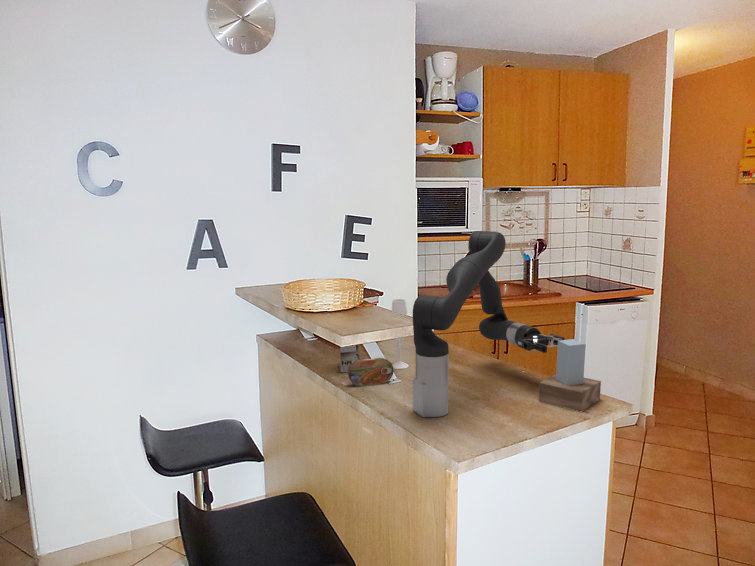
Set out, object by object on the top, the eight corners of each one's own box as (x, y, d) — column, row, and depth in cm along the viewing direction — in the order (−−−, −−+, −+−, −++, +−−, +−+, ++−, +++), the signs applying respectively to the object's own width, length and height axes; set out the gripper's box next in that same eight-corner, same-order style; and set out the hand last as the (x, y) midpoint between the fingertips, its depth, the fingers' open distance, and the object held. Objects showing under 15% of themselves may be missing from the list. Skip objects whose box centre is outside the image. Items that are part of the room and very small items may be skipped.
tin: (349, 387, 183) (348, 362, 182) (347, 384, 186) (346, 359, 185) (394, 382, 187) (393, 358, 186) (391, 380, 190) (390, 355, 189)
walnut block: (581, 413, 160) (582, 392, 159) (538, 402, 169) (539, 382, 168) (599, 400, 170) (600, 381, 169) (558, 390, 179) (559, 372, 178)
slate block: (567, 385, 165) (569, 345, 163) (555, 379, 170) (557, 340, 168) (583, 383, 167) (585, 344, 165) (571, 377, 172) (573, 339, 170)
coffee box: (358, 372, 198) (357, 327, 196) (340, 372, 198) (339, 327, 196) (360, 364, 207) (359, 321, 205) (342, 364, 207) (341, 321, 205)
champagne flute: (412, 365, 205) (412, 300, 202) (400, 369, 201) (399, 302, 197) (398, 362, 210) (398, 297, 206) (386, 366, 205) (385, 300, 201)
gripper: (505, 327, 184) (538, 338, 169) (541, 322, 189) (576, 333, 175) (505, 349, 185) (538, 362, 170) (540, 344, 191) (575, 356, 176)
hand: (557, 347), depth 172 cm, fingers open, 8 cm apart
